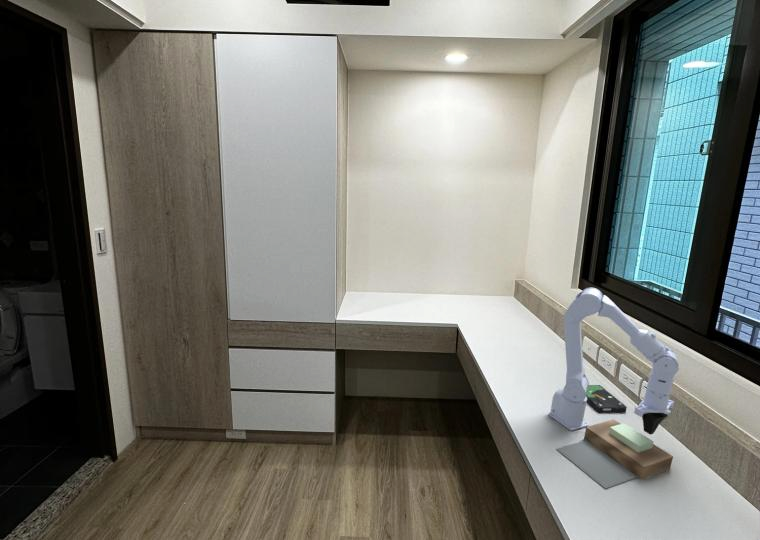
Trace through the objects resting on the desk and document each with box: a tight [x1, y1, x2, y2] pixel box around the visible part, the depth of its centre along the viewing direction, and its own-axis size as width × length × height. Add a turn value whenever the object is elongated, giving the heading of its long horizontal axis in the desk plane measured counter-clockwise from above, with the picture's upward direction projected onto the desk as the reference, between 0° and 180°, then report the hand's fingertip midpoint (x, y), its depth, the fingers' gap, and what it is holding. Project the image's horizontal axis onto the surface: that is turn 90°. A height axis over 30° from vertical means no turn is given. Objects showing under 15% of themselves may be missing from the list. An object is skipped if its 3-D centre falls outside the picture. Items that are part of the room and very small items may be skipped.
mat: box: [556, 439, 638, 490], centre depth 112 cm, size 16×12×1 cm
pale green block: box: [609, 423, 654, 452], centre depth 117 cm, size 9×6×2 cm, turn 23°
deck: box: [583, 419, 674, 480], centre depth 117 cm, size 18×12×4 cm, turn 23°
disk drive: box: [586, 384, 628, 414], centre depth 145 cm, size 10×3×15 cm
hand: (648, 432), depth 120 cm, fingers closed
